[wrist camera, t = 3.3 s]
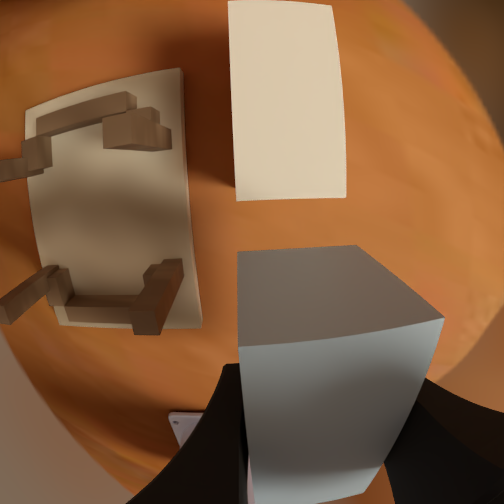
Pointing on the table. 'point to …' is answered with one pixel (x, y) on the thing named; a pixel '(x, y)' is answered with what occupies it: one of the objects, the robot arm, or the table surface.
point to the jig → (110, 207)
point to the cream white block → (286, 101)
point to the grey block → (326, 368)
